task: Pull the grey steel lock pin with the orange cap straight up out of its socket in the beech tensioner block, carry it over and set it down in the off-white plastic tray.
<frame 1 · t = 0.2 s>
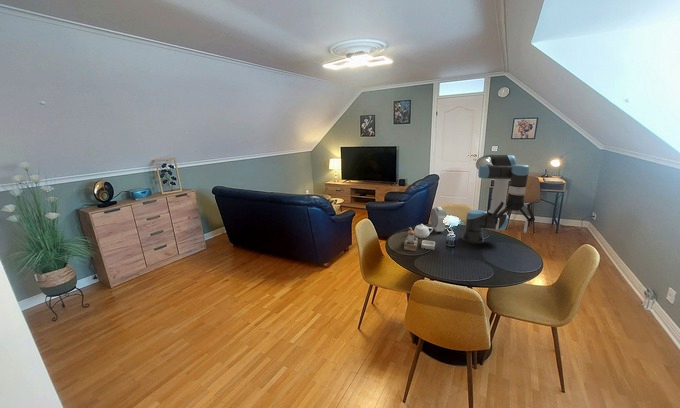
hand: (510, 230, 153), 28 cm above the table, fingers open, 13 cm apart
pin: (410, 247, 199), resting in tensioner
teapot: (420, 236, 220), on the table
alarm clock: (437, 230, 231), on the table
tray: (428, 246, 201), on the table
tensioner: (410, 247, 199), on the table
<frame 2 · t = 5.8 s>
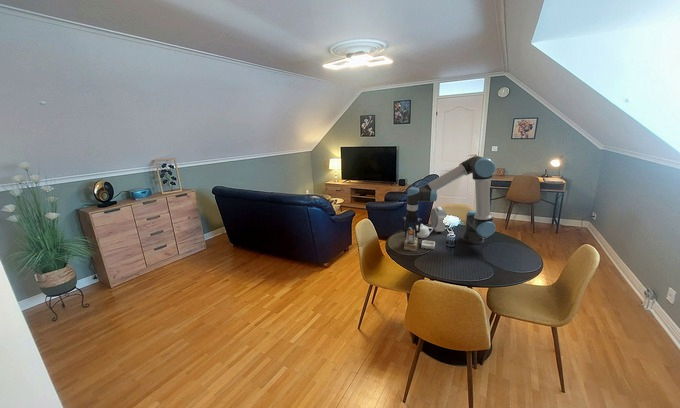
hand: (410, 240, 198), 6 cm above the table, fingers closed on pin, 4 cm apart
pin: (410, 247, 199), resting in tensioner, touching gripper
everything else where it was.
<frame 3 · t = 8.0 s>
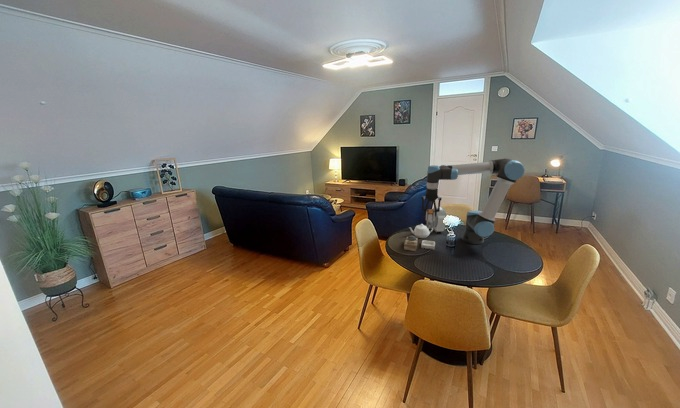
hand: (430, 220, 195), 20 cm above the table, fingers closed on pin, 4 cm apart
pin: (429, 227, 197), point 15 cm above the table, touching gripper
everything else where it was.
when the fingers open (7 cm above the table, at t = 10.2 s): pin drops 1 cm, resting on tray.
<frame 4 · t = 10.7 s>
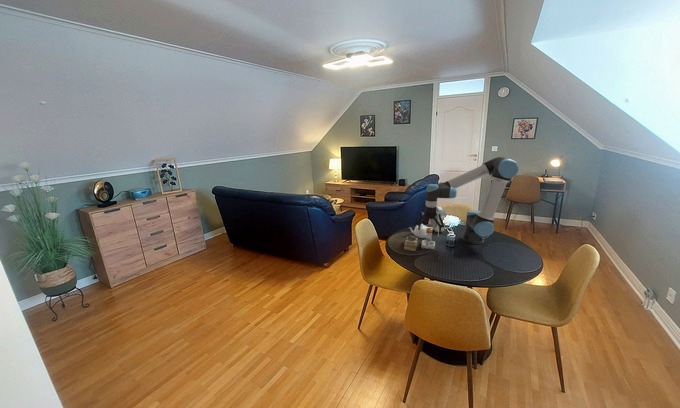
hand: (429, 234, 198), 9 cm above the table, fingers open, 12 cm apart
pin: (428, 245, 201), point 1 cm above the table, touching tray
everything else where it was.
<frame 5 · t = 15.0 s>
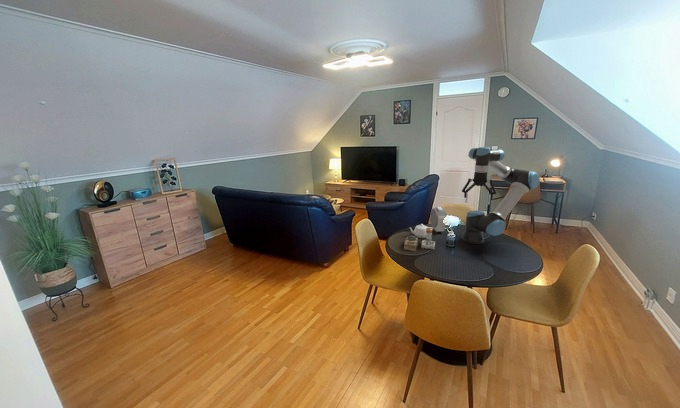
hand: (477, 203, 183), 35 cm above the table, fingers open, 13 cm apart
nothing on the table moved.
at the end: pin 0.0 cm off-centre on the tray, point 0.6 cm above the tray's base; pin moved 13.7 cm from its start; the gripper is holding nothing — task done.
